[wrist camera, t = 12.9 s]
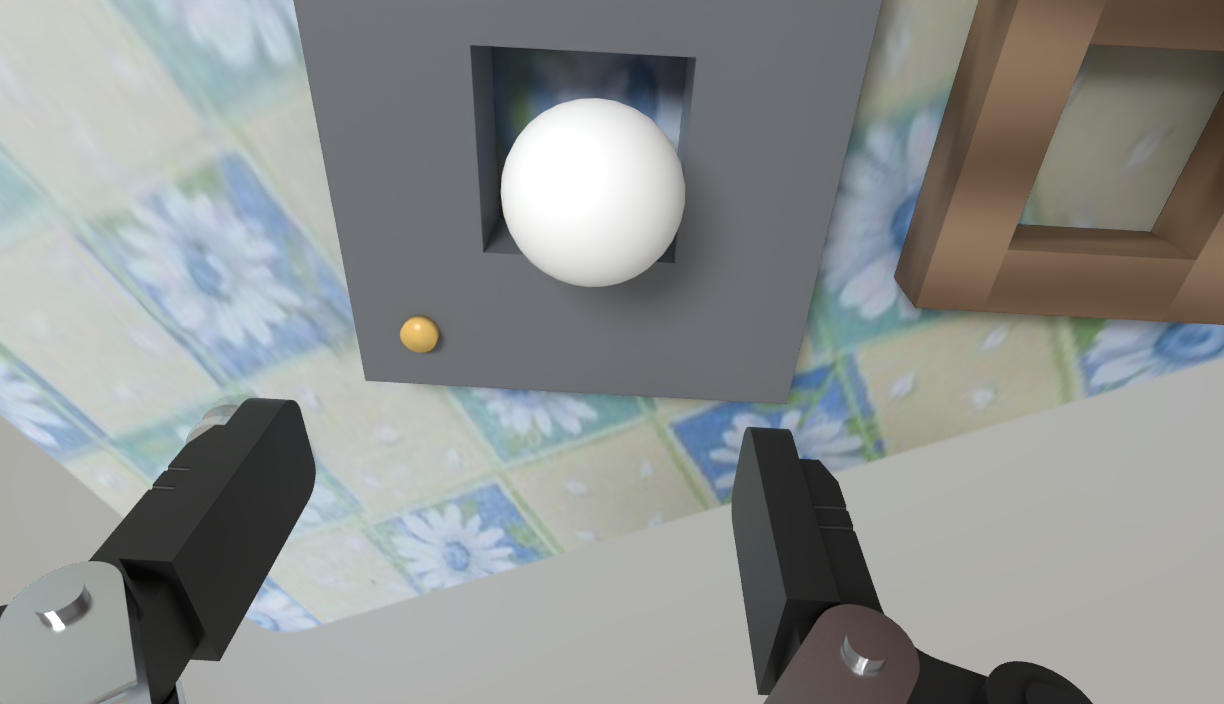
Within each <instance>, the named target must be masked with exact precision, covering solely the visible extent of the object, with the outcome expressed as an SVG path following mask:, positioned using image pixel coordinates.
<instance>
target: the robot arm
mask: <svg viewBox="0 0 1224 704" xmlns="http://www.w3.org/2000/svg"><path fill="white" fill-rule="evenodd" d="M315 474H316V469H315V462H314V458H313V454H312V451H311V447H310V443H309V439H308V436H307V432H306V428H305V424H304V421H303V417H302V413H301V410H300V407H299V405H298V404H297V402H295V401H294V400H283V399H265V398H248V399H246V400H245V401H244V402H243V403H242V404H241V405H240V406H239V408H238V409H237V410H236V412H235V413H234V414H233V415H232V417H231V418H230V419H229V420H228V422H227V423H226V424H225V425H214V426H212V427H211V428H209V429H208V430H207V431H205V432H204V433H202V434H201V435H199V436H198V437H196V438H195V439H193V440H192V441H190V442H189V443H187V444H186V445H185V447H184V448H183V449H182V450H181V451H180V453H179V454H178V455H177V456H176V457H175V459H174V460H173V461H172V462H171V463H170V465H169V466H168V470H167V471H164V472H163V473H162V474H161V475H160V476H159V478H158V479H157V480H156V481H155V482H154V484H153V488H152V490H148V491H147V492H146V493H145V494H144V496H143V497H142V498H141V499H140V500H139V502H138V503H137V504H136V505H135V506H134V508H133V509H132V510H131V511H130V512H129V513H128V515H127V516H126V517H125V518H124V519H123V521H122V522H121V523H120V524H119V525H118V527H117V528H116V529H115V530H114V531H113V533H112V534H111V535H110V536H109V537H108V539H107V540H106V541H105V542H104V543H103V545H102V546H101V547H100V548H99V550H98V551H97V552H96V553H95V554H94V555H93V557H92V558H91V559H90V560H89V561H88V562H81V563H76V564H71V565H68V566H65V567H62V568H59V569H57V570H54V571H52V572H50V573H48V574H46V575H44V576H42V577H40V578H39V579H37V580H36V581H34V582H32V583H31V584H30V585H28V586H27V587H26V588H24V589H23V590H22V591H21V592H20V593H19V594H18V595H17V596H16V597H14V598H13V600H12V601H11V602H10V603H9V604H8V605H4V606H0V704H186V701H185V695H184V690H183V686H182V683H181V681H180V679H179V677H180V675H181V674H182V672H183V670H184V669H185V667H186V665H187V663H188V662H189V660H208V661H220V659H221V658H222V656H223V654H224V652H225V650H226V648H227V647H228V645H229V643H230V641H231V639H232V638H233V636H234V634H235V632H236V630H237V628H238V627H239V625H240V623H241V621H242V620H243V618H244V616H245V614H246V612H247V611H248V609H249V607H250V605H251V603H252V602H253V600H254V598H255V596H256V594H257V593H258V591H259V589H260V587H261V585H262V584H263V582H264V580H265V578H266V576H267V575H268V573H269V571H270V569H271V567H272V565H273V564H274V562H275V560H276V558H277V556H278V555H279V553H280V551H281V549H282V547H283V546H284V544H285V542H286V540H287V538H288V537H289V535H290V533H291V531H292V529H293V528H294V526H295V524H296V522H297V520H298V519H299V517H300V515H301V513H302V511H303V510H304V508H305V506H306V504H307V502H308V501H309V499H310V497H311V494H312V491H313V488H314V483H315ZM732 523H733V530H734V537H735V543H736V550H737V557H738V564H739V570H740V576H741V583H742V590H743V597H744V603H745V610H746V616H747V623H748V630H749V637H750V643H751V650H752V656H753V663H754V670H755V677H756V683H757V690H758V695H759V694H760V695H769V696H768V698H767V699H766V701H765V702H764V704H1093V703H1092V702H1091V701H1090V700H1089V699H1088V698H1087V697H1086V695H1085V694H1084V693H1083V692H1082V691H1081V690H1079V689H1078V688H1077V687H1076V686H1075V685H1074V684H1072V683H1071V682H1070V681H1068V680H1067V679H1065V678H1064V677H1062V676H1061V675H1059V674H1057V673H1055V672H1054V671H1052V670H1049V669H1047V668H1045V667H1043V666H1040V665H1037V664H1033V663H1028V662H1020V661H1019V662H1018V661H1013V662H1007V663H1004V664H1001V665H999V666H998V667H996V668H995V669H994V670H993V671H992V672H991V674H990V675H989V677H987V676H984V675H981V674H978V673H975V672H972V671H970V670H966V669H964V668H961V667H958V666H955V665H952V664H950V663H947V662H943V661H941V660H939V659H936V658H934V657H931V656H929V655H927V654H925V653H924V652H922V651H920V650H919V649H917V648H916V647H914V645H913V643H912V641H911V639H910V638H909V637H908V635H907V634H906V633H905V632H904V631H903V629H902V628H901V627H900V626H899V625H898V624H896V623H895V622H894V621H893V620H892V619H890V618H889V617H887V616H886V615H884V612H883V610H882V608H881V606H880V603H879V600H878V597H877V594H876V591H875V588H874V585H873V582H872V580H871V576H870V574H869V571H868V568H867V565H866V562H865V559H864V556H863V553H862V550H861V547H860V544H859V541H858V539H857V536H856V533H855V531H853V524H852V521H851V518H850V515H849V512H848V511H846V504H845V501H844V498H843V495H842V492H841V489H840V486H839V483H838V481H837V480H836V479H835V478H834V477H833V476H832V474H831V473H830V472H829V471H828V470H827V469H826V468H825V466H824V465H823V464H822V463H821V462H820V461H819V460H810V459H799V457H798V453H797V450H796V446H795V443H794V439H793V436H792V433H791V431H790V430H789V429H775V428H758V427H747V428H746V430H745V432H744V436H743V441H742V446H741V451H740V456H739V461H738V466H737V471H736V476H735V481H734V486H733V493H732Z"/></svg>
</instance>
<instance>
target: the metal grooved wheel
mask: <svg viewBox="0 0 1224 704" xmlns="http://www.w3.org/2000/svg"><path fill="white" fill-rule="evenodd" d="M248 398H257V397H253V396H249V395H230V396H226V397H223V398H221V399H219V400H218V401H216V402H215V403H214V404H213V405H212V407H211V408H210V409H209V410H208V411H207V412H206V414H205V415H204V416H203V418H202V421H200V422H199V423H197V424H196V425H195V426H194V428H193V429H192V430H191V431H190V433H189V434H188V437H187V439H186V444H187V443H189V442H190V441H192V440H193V439H195V438H196V437H198V436H199V435H201V434H202V433H204V432H205V431H207V430H208V429H209V428H211V427H212V426H214V425H225V424H226V423H227V422H228V420H229V419H230V418H231V417H232V415H233V414H234V413H235V412H236V410H237V409H238V408H239V406H240V405H241V404H242V403H243V402H244V401H245V400H246V399H248Z"/></svg>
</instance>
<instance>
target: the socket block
mask: <svg viewBox="0 0 1224 704" xmlns="http://www.w3.org/2000/svg"><path fill="white" fill-rule="evenodd" d="M293 1H294V6H295V11H296V16H297V22H298V27H299V32H300V38H301V43H302V48H303V53H304V59H305V64H306V69H307V74H308V80H309V85H310V90H311V95H312V101H313V106H314V111H315V117H316V122H317V127H318V132H319V138H320V143H321V148H322V153H323V159H324V164H325V169H326V175H327V180H328V185H329V190H330V196H331V201H332V206H333V211H334V217H335V222H336V227H337V232H338V238H339V243H340V248H341V254H342V259H343V264H344V269H345V275H346V280H347V285H348V290H349V296H350V301H351V306H352V312H353V317H354V322H355V327H356V333H357V338H358V343H359V348H360V354H361V359H362V364H363V369H364V375H365V380H366V381H380V382H398V383H416V384H434V385H452V386H470V387H488V388H506V389H524V390H542V391H560V392H578V393H596V394H614V395H632V396H651V397H669V398H687V399H705V400H723V401H741V402H759V403H777V404H787V400H788V396H789V391H790V387H791V383H792V379H793V375H794V370H795V366H796V362H797V358H798V353H799V349H800V345H801V341H802V337H803V332H804V328H805V324H806V320H807V315H808V311H809V307H810V303H811V299H812V294H813V290H814V286H815V282H816V277H817V273H818V269H819V265H820V261H821V256H822V252H823V248H824V244H825V239H826V235H827V231H828V227H829V223H830V218H831V214H832V210H833V206H834V201H835V197H836V193H837V189H838V185H839V180H840V176H841V172H842V168H843V164H844V159H845V155H846V151H847V147H848V142H849V138H850V134H851V130H852V126H853V121H854V117H855V113H856V109H857V104H858V100H859V96H860V92H861V88H862V83H863V79H864V75H865V71H866V66H867V62H868V58H869V54H870V50H871V45H872V41H873V37H874V33H875V28H876V24H877V20H878V16H879V12H880V7H881V3H882V0H293ZM491 46H497V47H515V48H533V49H551V50H570V51H588V52H606V53H624V54H642V55H660V56H678V57H687V66H686V76H685V86H684V96H683V106H682V116H681V126H680V136H679V146H678V158H679V160H680V163H681V167H682V172H683V177H684V182H685V205H684V210H683V214H682V219H681V222H680V225H679V227H678V229H677V232H676V234H675V236H674V239H673V241H672V242H671V244H670V245H669V246H668V248H667V249H666V251H665V252H664V254H663V255H662V256H661V257H660V258H659V259H658V260H656V261H655V262H654V263H653V264H652V265H651V266H650V267H649V268H648V269H647V270H645V271H643V272H642V273H640V274H639V275H637V276H636V277H634V278H631V279H629V280H627V281H624V282H622V283H618V284H614V285H609V286H603V287H585V286H578V285H572V284H569V283H566V282H563V281H560V280H557V279H555V278H554V277H552V276H550V275H548V274H546V273H544V272H543V271H542V270H540V269H539V268H538V267H536V266H535V265H534V264H533V263H531V262H530V260H529V259H528V258H527V257H526V256H525V255H524V254H523V252H522V251H521V250H520V249H519V247H518V245H517V244H516V242H515V240H514V239H513V237H512V235H511V234H510V232H509V229H508V226H507V223H506V221H505V218H504V216H499V195H498V174H497V153H496V133H495V112H494V91H493V70H492V49H491Z"/></svg>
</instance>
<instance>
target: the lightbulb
mask: <svg viewBox="0 0 1224 704" xmlns="http://www.w3.org/2000/svg"><path fill="white" fill-rule="evenodd" d="M501 200H502V207H503V214H504V218H505V221H506V223H507V226H508V229H509V232H510V234H511V235H512V237H513V239H514V240H515V242H516V244H517V245H518V247H519V249H520V250H521V251H522V252H523V254H524V255H525V256H526V257H527V258H528V259H529V260H530V262H531V263H533V264H534V265H535V266H536V267H538V268H539V269H540V270H542V271H543V272H544V273H546V274H548V275H550V276H552V277H554V278H555V279H557V280H560V281H563V282H566V283H569V284H572V285H578V286H585V287H603V286H609V285H614V284H618V283H622V282H624V281H627V280H629V279H631V278H634V277H636V276H637V275H639V274H640V273H642V272H643V271H645V270H647V269H648V268H649V267H650V266H651V265H652V264H653V263H654V262H655V261H656V260H658V259H659V258H660V257H661V256H662V255H663V254H664V252H665V251H666V249H667V248H668V246H669V245H670V244H671V242H672V241H673V239H674V236H675V234H676V232H677V229H678V227H679V225H680V222H681V219H682V214H683V210H684V205H685V182H684V177H683V172H682V167H681V163H680V160H679V158H678V155H677V153H676V151H675V148H674V146H673V145H672V143H671V142H670V140H669V139H668V137H667V136H666V134H665V133H664V131H663V130H662V129H661V128H660V127H659V126H657V125H656V124H655V123H654V122H653V121H652V120H651V119H650V118H649V117H647V116H646V115H644V114H643V113H641V112H639V111H638V110H636V109H635V108H633V107H630V106H627V105H625V104H622V103H619V102H617V101H612V100H606V99H600V98H591V99H576V100H573V101H569V102H565V103H561V104H558V105H556V106H554V107H552V108H550V109H548V110H546V111H544V112H543V113H541V114H540V115H539V116H538V117H536V118H535V119H534V120H533V121H531V122H530V123H529V124H528V125H527V126H526V127H525V129H524V130H523V131H522V132H521V133H520V135H519V136H518V137H517V139H516V141H515V143H514V145H513V147H512V149H511V150H510V152H509V154H508V156H507V158H506V162H505V166H504V169H503V173H502V181H501Z"/></svg>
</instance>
